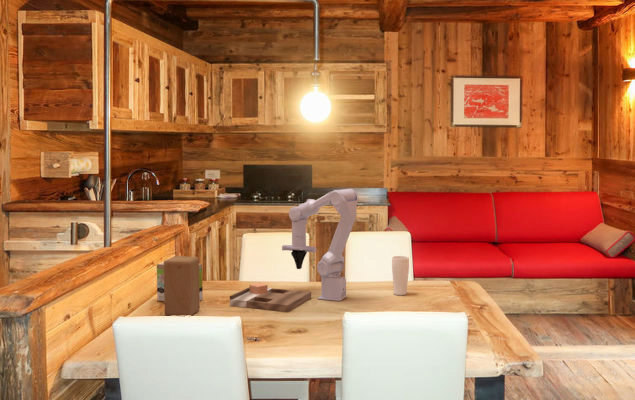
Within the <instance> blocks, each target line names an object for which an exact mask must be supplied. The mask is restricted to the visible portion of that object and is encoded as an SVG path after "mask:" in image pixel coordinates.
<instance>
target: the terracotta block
mask: <svg viewBox="0 0 635 400" xmlns="http://www.w3.org/2000/svg"><path fill="white" fill-rule="evenodd" d="M249 287H250V293H254V294H257V295H258V294H263V293H267V292H268V288H269V287H268V284H265V283H261V282H257V283H253V284H249Z"/></svg>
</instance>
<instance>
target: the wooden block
mask: <svg viewBox="0 0 635 400" xmlns="http://www.w3.org/2000/svg"><path fill="white" fill-rule="evenodd" d="M162 263H163V265H164V301H163V302H164V315H165V316H167V315H191V316H192V315H194V314H196V313H197V312H199V310H200V309H201V307H200V306H201V305H200V296H199V264H200V259H199V257H197V256H183V255H182V256H181V255H179V256H178V255H175V256H172V257H170V258H168V259H165V260H163V262H162Z"/></svg>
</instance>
